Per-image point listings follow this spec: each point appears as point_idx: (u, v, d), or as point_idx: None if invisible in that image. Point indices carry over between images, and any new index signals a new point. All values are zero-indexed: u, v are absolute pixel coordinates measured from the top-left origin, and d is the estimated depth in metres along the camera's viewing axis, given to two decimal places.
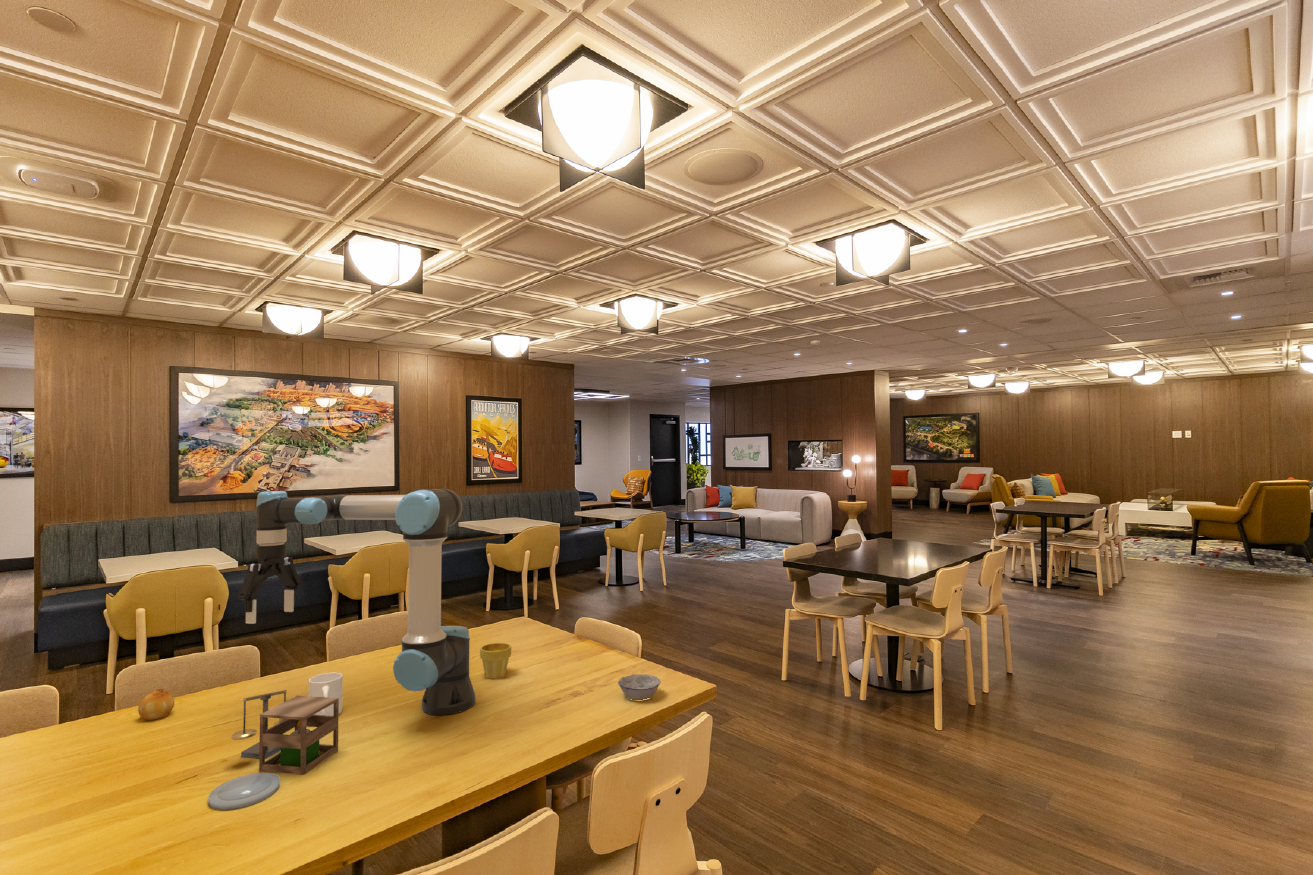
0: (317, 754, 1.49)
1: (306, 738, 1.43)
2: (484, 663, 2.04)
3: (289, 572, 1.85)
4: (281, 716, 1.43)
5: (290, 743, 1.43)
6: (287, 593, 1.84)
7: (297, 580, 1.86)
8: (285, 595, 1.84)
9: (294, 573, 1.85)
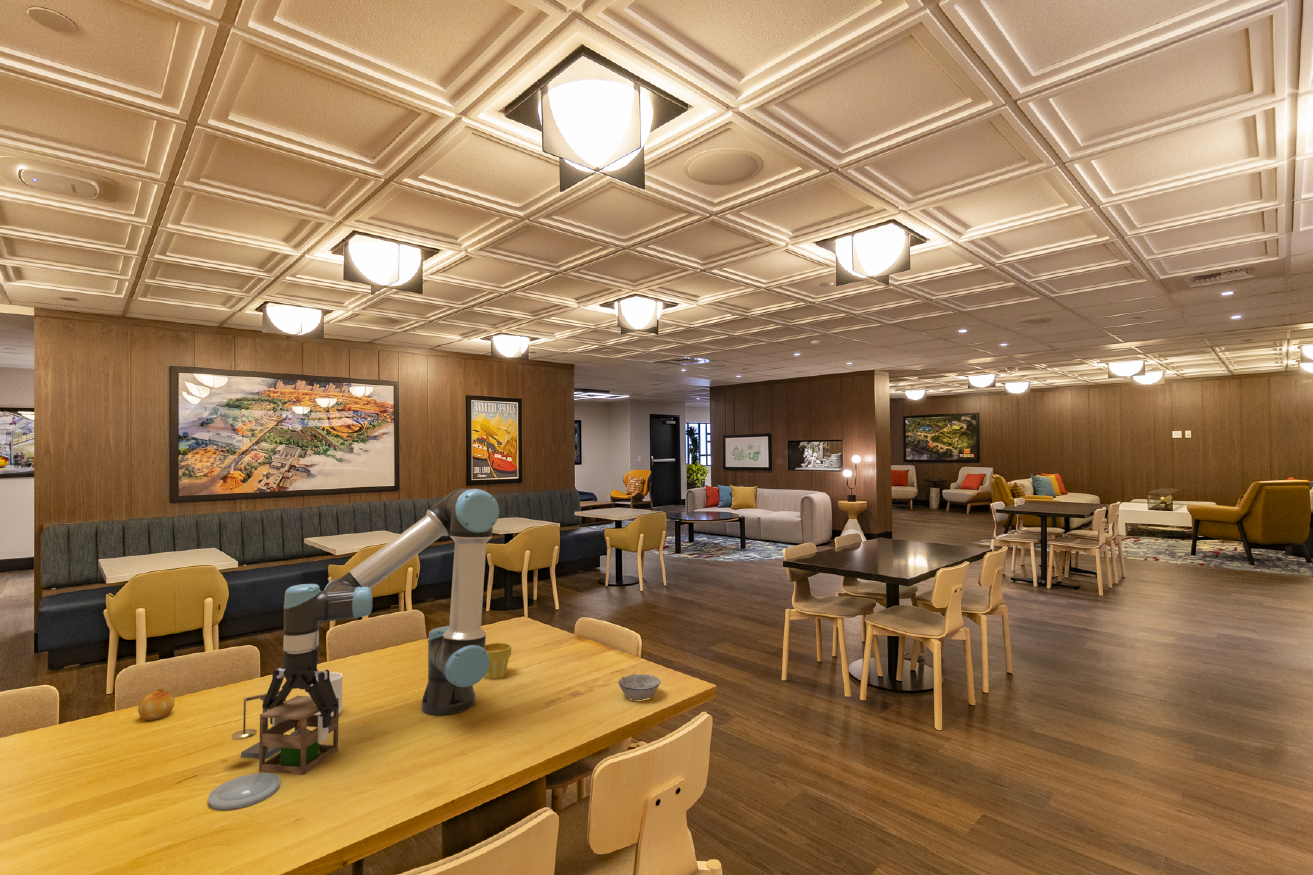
0: (317, 754, 1.49)
1: (306, 738, 1.43)
2: None
3: None
4: (281, 716, 1.43)
5: (290, 743, 1.43)
6: None
7: (327, 705, 1.47)
8: None
9: (323, 694, 1.47)
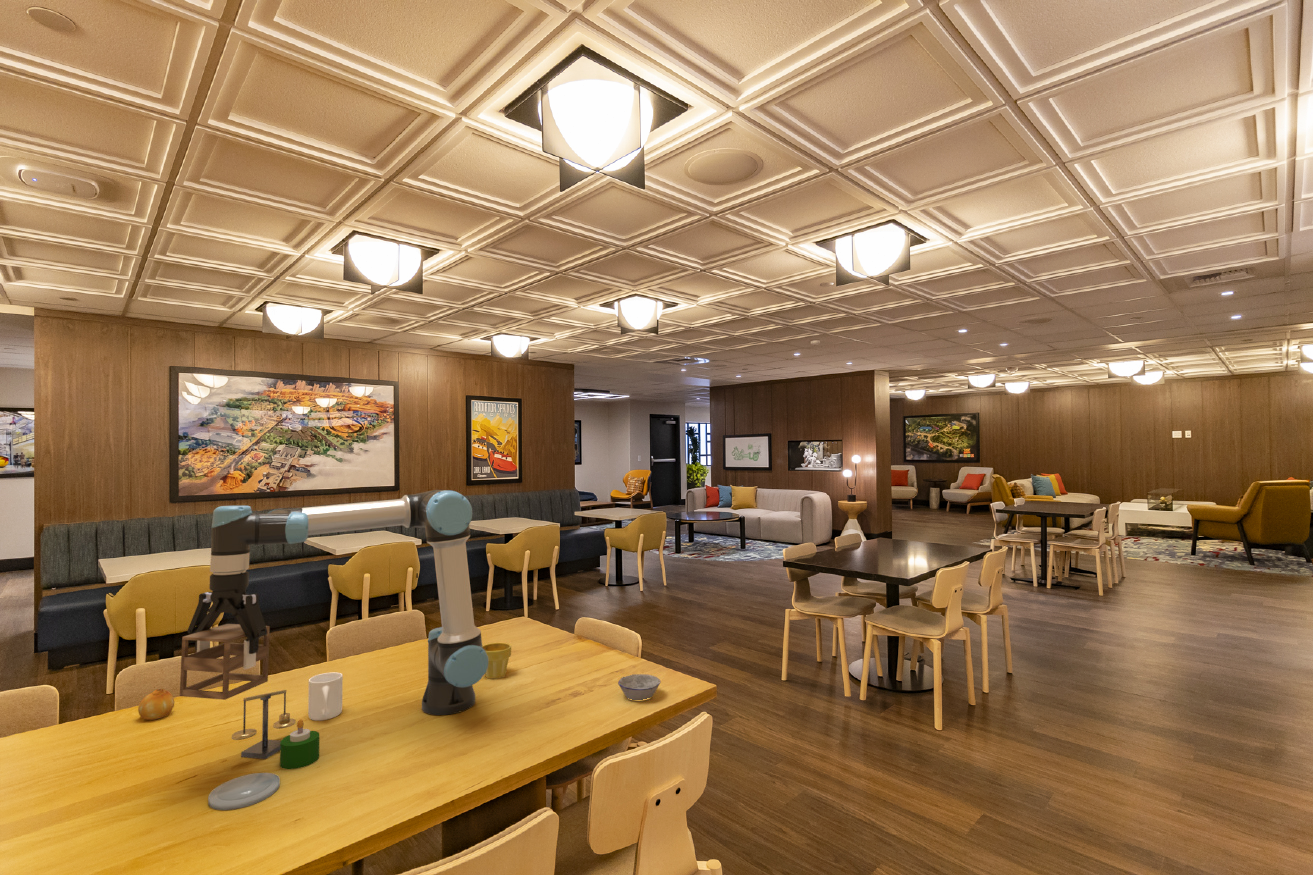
0: (317, 754, 1.49)
1: (229, 662, 1.36)
2: None
3: None
4: (204, 638, 1.36)
5: (212, 667, 1.36)
6: None
7: (254, 629, 1.40)
8: None
9: (250, 618, 1.40)
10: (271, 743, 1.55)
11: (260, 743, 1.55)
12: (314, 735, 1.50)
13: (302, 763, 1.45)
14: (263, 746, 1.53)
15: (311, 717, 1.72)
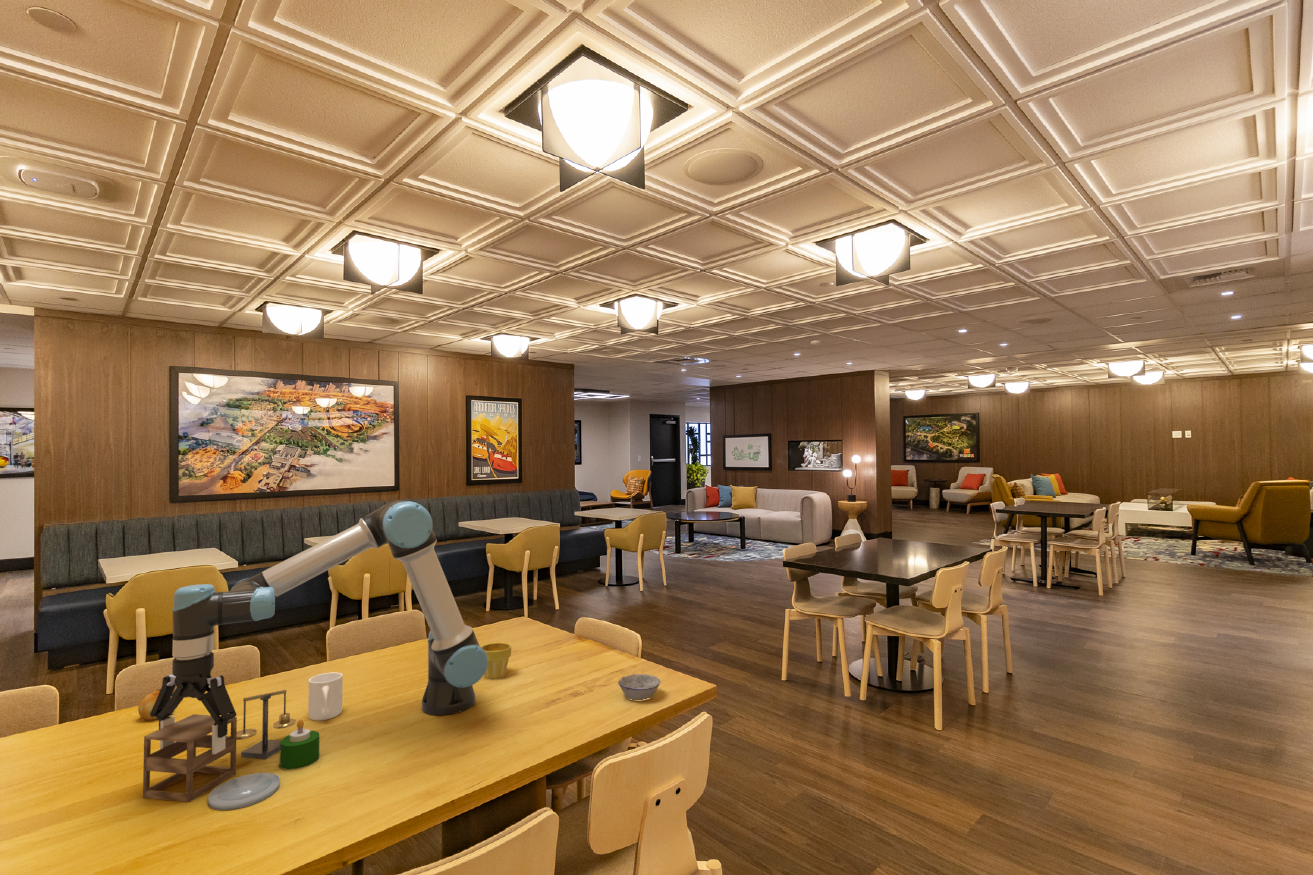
0: (317, 754, 1.49)
1: (193, 762, 1.32)
2: None
3: None
4: (166, 738, 1.32)
5: (175, 768, 1.32)
6: None
7: (221, 713, 1.36)
8: None
9: (217, 702, 1.36)
10: (271, 743, 1.55)
11: (260, 743, 1.55)
12: (314, 735, 1.50)
13: (302, 763, 1.45)
14: (263, 746, 1.53)
15: (311, 717, 1.72)
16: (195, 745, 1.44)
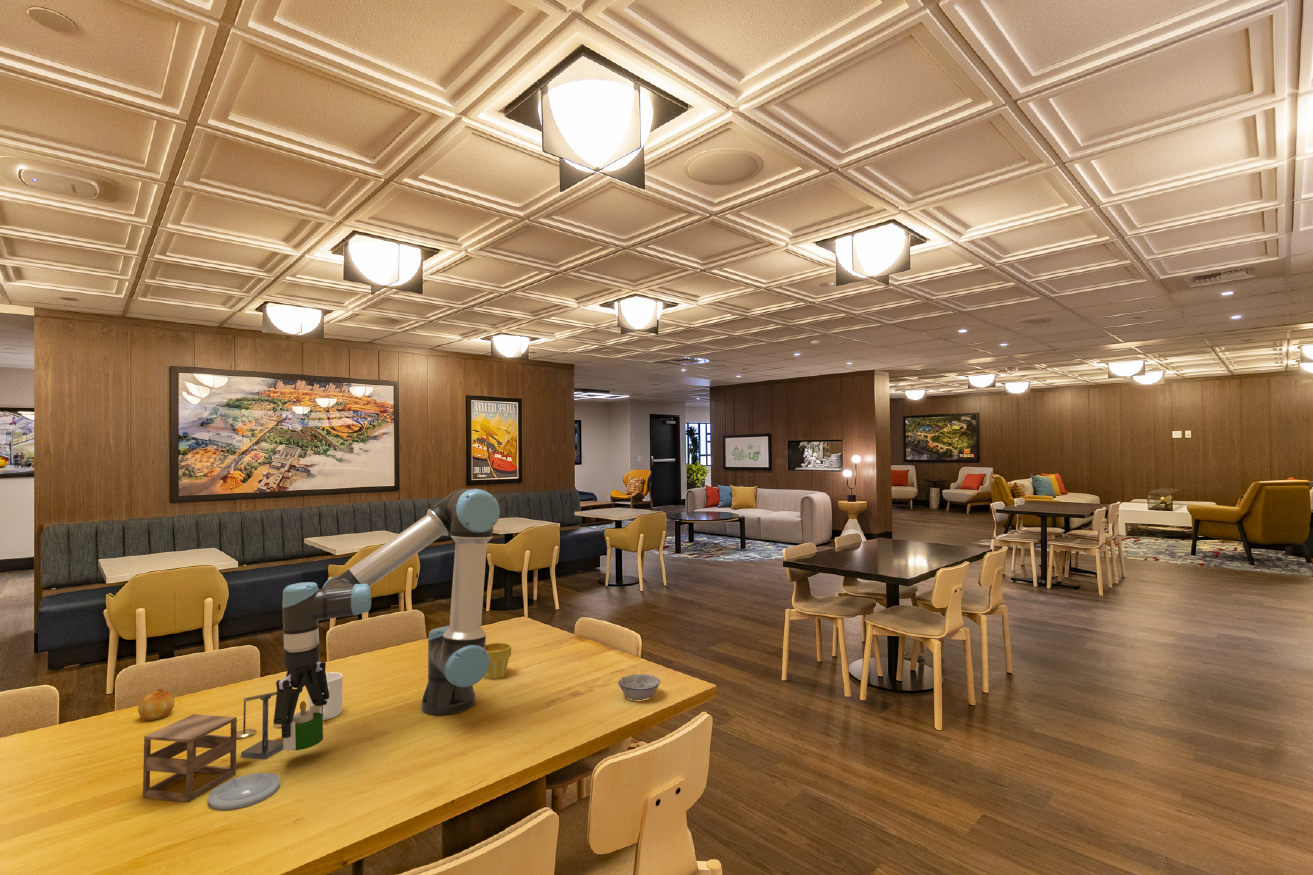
0: (321, 735, 1.49)
1: (193, 762, 1.32)
2: None
3: (319, 681, 1.55)
4: (166, 738, 1.32)
5: (175, 768, 1.32)
6: (314, 711, 1.53)
7: (326, 692, 1.56)
8: None
9: (324, 683, 1.55)
10: (271, 743, 1.55)
11: (260, 743, 1.55)
12: (317, 716, 1.51)
13: (306, 744, 1.46)
14: (263, 746, 1.53)
15: None
16: (195, 745, 1.44)
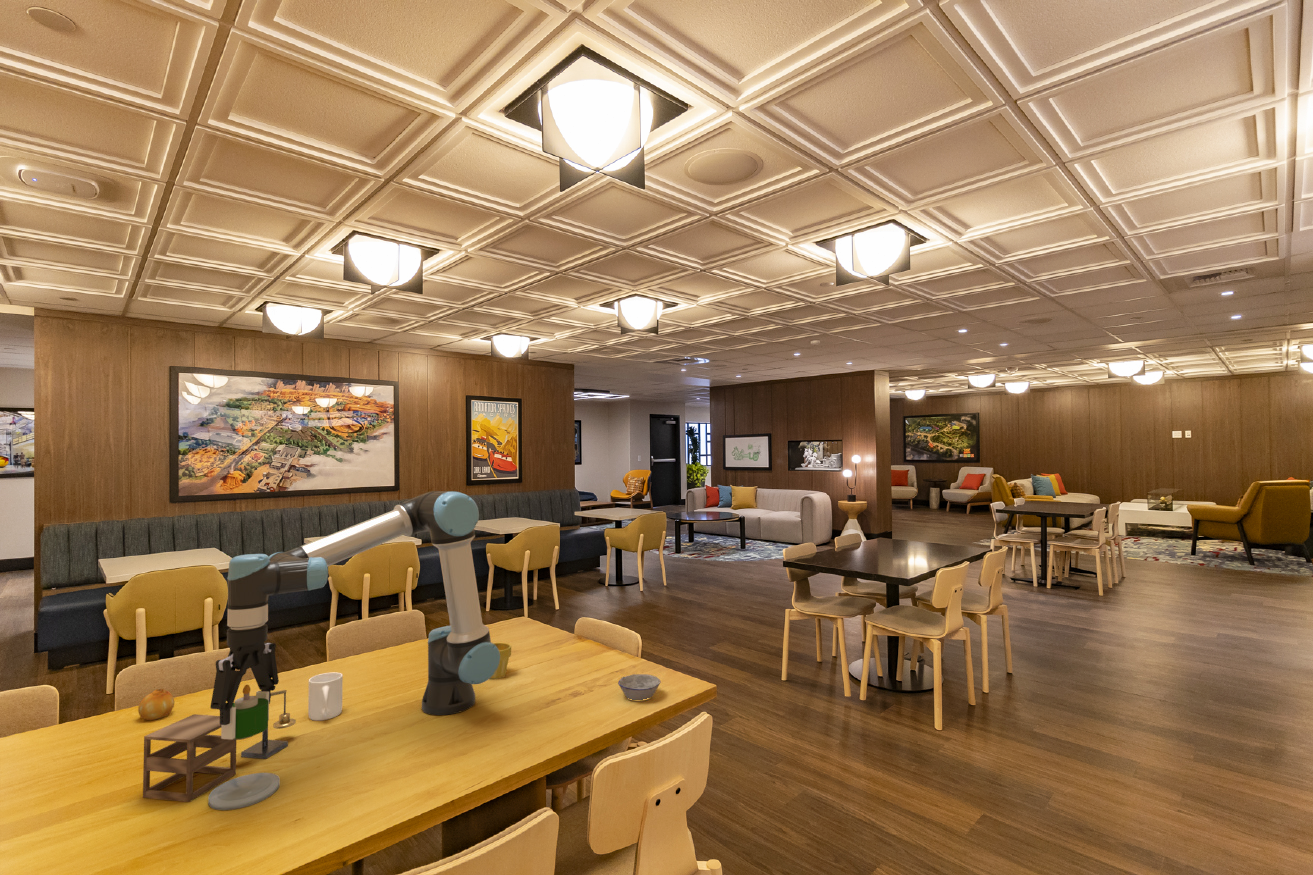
0: (265, 723, 1.35)
1: (193, 762, 1.32)
2: None
3: (267, 664, 1.41)
4: (166, 738, 1.32)
5: (175, 768, 1.32)
6: (260, 696, 1.39)
7: (275, 676, 1.41)
8: None
9: (273, 666, 1.41)
10: (271, 743, 1.55)
11: (260, 743, 1.55)
12: (262, 702, 1.36)
13: (247, 733, 1.31)
14: (263, 746, 1.53)
15: (311, 717, 1.72)
16: (195, 745, 1.44)
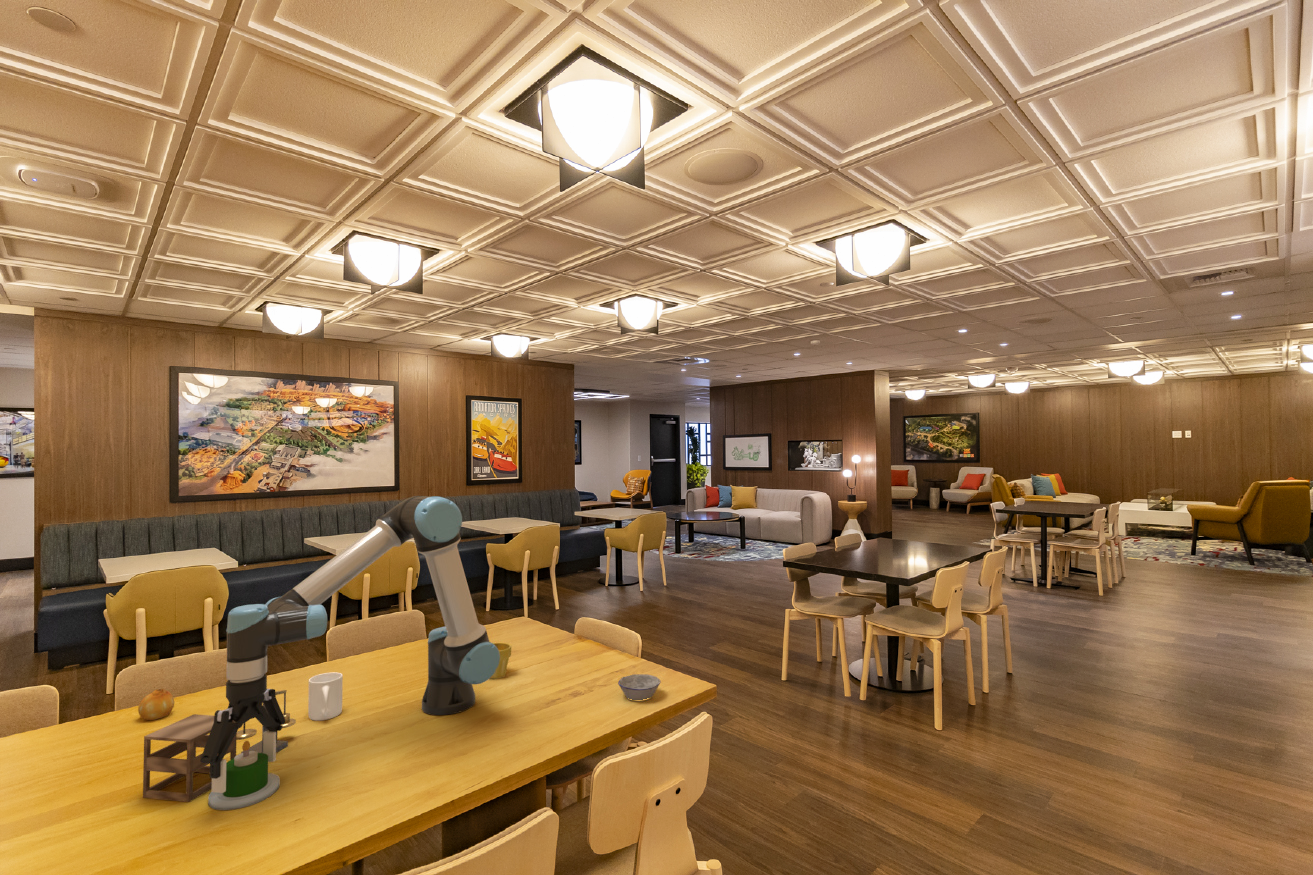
0: (265, 779, 1.34)
1: (193, 762, 1.32)
2: None
3: (270, 708, 1.41)
4: (166, 738, 1.32)
5: (175, 768, 1.32)
6: (268, 737, 1.41)
7: (280, 718, 1.43)
8: (264, 739, 1.41)
9: (277, 709, 1.42)
10: None
11: (260, 743, 1.55)
12: (262, 758, 1.36)
13: (246, 791, 1.31)
14: None
15: (311, 717, 1.72)
16: (195, 745, 1.44)
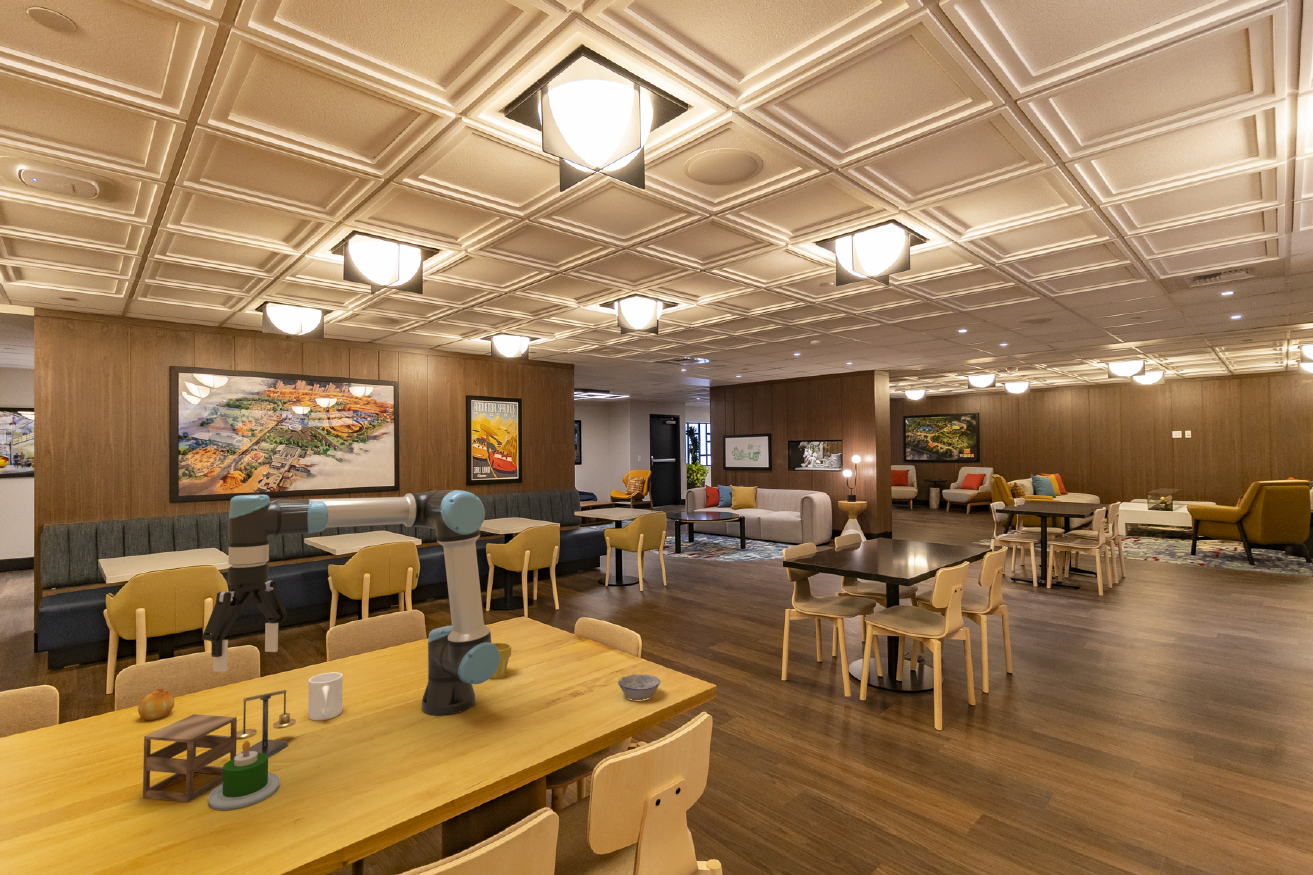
0: (265, 779, 1.34)
1: (193, 762, 1.32)
2: None
3: (272, 600, 1.42)
4: (166, 738, 1.32)
5: (175, 768, 1.32)
6: (270, 628, 1.42)
7: (282, 610, 1.44)
8: (266, 630, 1.42)
9: (278, 601, 1.43)
10: (271, 743, 1.55)
11: (260, 743, 1.55)
12: (262, 758, 1.36)
13: (246, 791, 1.31)
14: (263, 746, 1.53)
15: (311, 717, 1.72)
16: (195, 745, 1.44)
